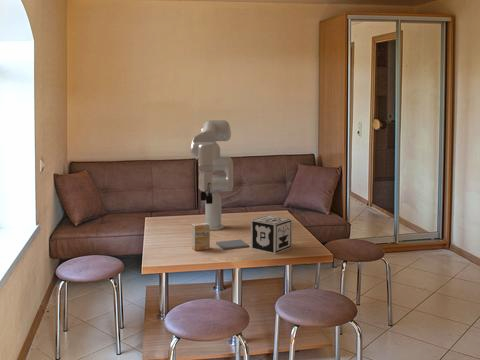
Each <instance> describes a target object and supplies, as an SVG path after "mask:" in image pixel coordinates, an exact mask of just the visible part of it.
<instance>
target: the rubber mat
mask: <svg viewBox="0 0 480 360" xmlns="http://www.w3.org/2000/svg"><path fill="white" fill-rule="evenodd" d="M215 245H217V247H219V248H221V249H222V250H223V251H224V250H234V249H243V248H250V245H249V244H248V243H247V242H245V241H243V240H242V239H232V240H222V241H216V242H215Z"/></svg>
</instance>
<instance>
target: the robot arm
mask: <svg viewBox="0 0 480 360" xmlns="http://www.w3.org/2000/svg"><path fill="white" fill-rule="evenodd" d="M231 137H232V131H231V126H230V123H229V122H228V121H227V120H225V119H224V120H223V119H218V120H217V119H211V120H207V121H205V122H204V123H203V127H201V129H200V133H199V134H197V135H195V136H193V138H192V140H191V142H190V143H191V144H190V154H191V156H192V157H194V158H198V160H197V161H198V172H199V173H198V190H200V194H199V195H200V201H204V204H205V205H204V206H205V212H204V214H205V215H204V216H205V222H204V223H208V224H210V231H218V230H222V229H225V225H224V224H222V197H221V195H220V194H219V193H218V192H231V191H232V190H233V188H234V161H233V158H232V157H230V156H222V155H221V147H220V144H218V143H217V142H228V141H230V139H231ZM213 173H214V174H213ZM215 173H217V174H215ZM218 173H219V174H218ZM220 173H222V174H220Z"/></svg>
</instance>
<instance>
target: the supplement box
mask: <svg viewBox="0 0 480 360" xmlns="http://www.w3.org/2000/svg"><path fill="white" fill-rule="evenodd" d="M210 242H211V230H210V224H208V223H205V222H200V223H192V224H191V246H192V247H191V248H192V249H193V251H203V250H210V249H211V248H210V246H211V243H210Z"/></svg>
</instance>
